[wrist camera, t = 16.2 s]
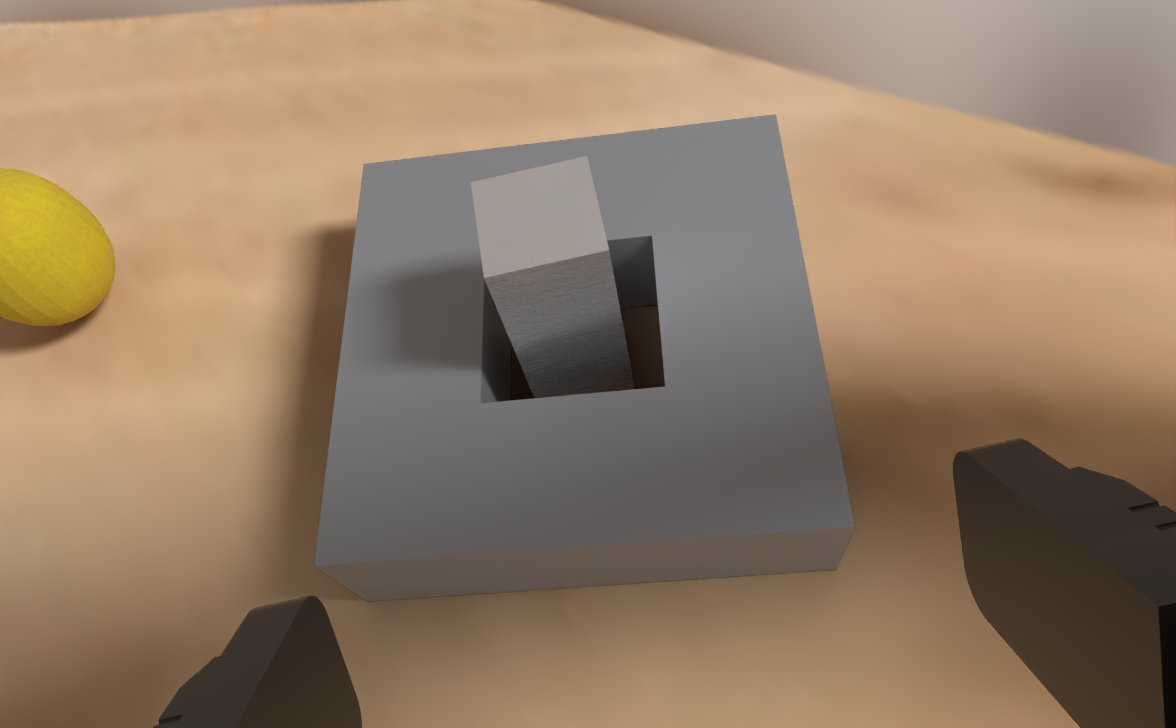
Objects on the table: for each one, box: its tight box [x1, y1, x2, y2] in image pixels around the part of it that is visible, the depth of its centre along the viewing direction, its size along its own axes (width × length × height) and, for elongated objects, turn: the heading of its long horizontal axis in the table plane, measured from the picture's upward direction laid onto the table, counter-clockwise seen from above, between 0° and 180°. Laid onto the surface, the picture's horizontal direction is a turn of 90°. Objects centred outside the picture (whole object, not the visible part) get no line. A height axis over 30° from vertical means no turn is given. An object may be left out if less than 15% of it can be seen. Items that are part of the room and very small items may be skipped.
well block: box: [314, 114, 855, 602], centre depth 31 cm, size 16×16×4 cm
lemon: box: [0, 169, 116, 326], centre depth 34 cm, size 6×6×8 cm
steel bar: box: [471, 156, 635, 398], centre depth 28 cm, size 4×4×10 cm
